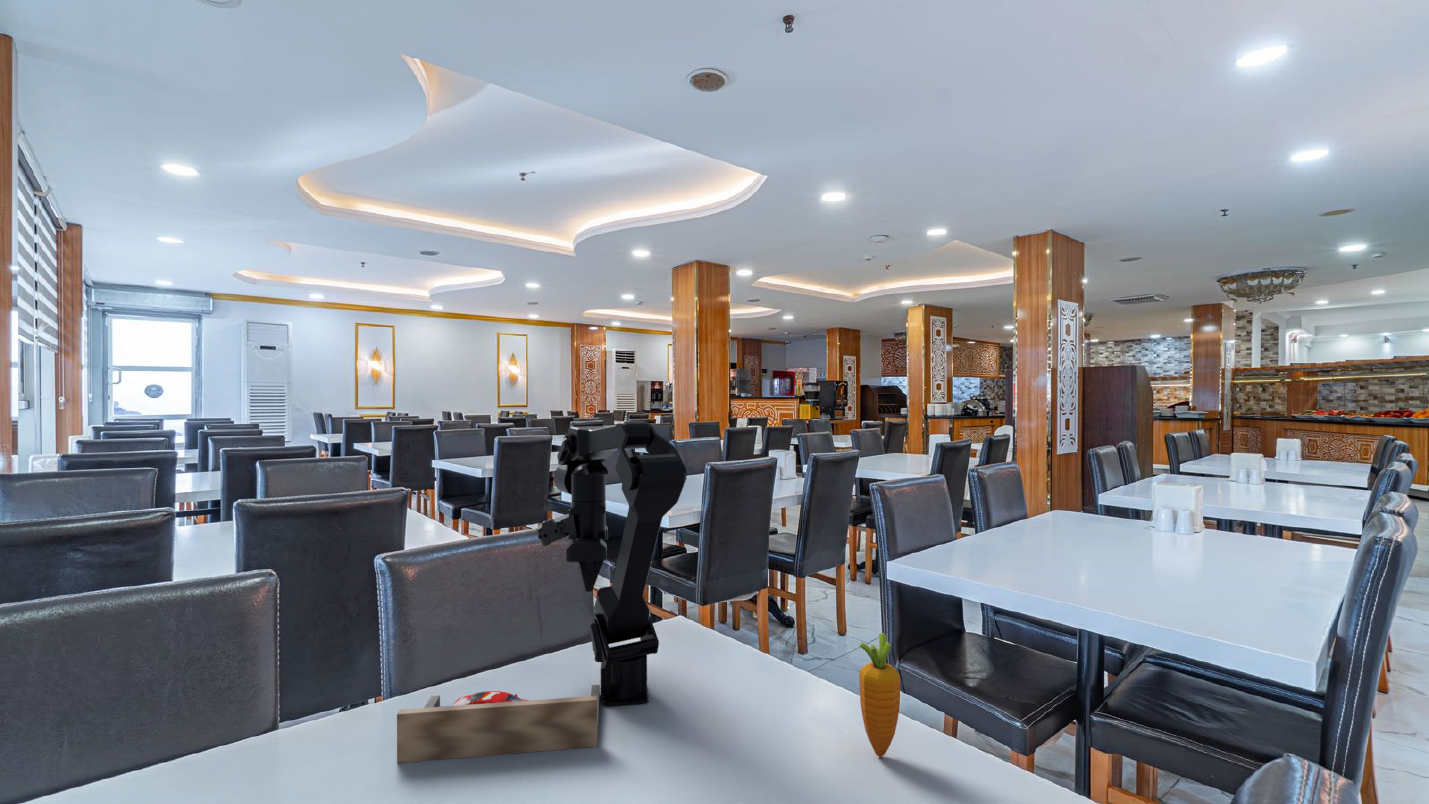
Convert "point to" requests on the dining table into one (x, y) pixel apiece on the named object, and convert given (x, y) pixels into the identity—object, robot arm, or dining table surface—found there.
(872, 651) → the carrot
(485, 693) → the race car
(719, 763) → the dining table surface
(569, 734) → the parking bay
